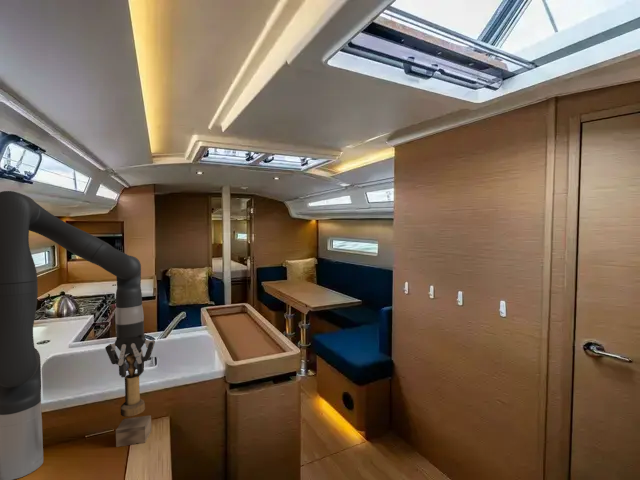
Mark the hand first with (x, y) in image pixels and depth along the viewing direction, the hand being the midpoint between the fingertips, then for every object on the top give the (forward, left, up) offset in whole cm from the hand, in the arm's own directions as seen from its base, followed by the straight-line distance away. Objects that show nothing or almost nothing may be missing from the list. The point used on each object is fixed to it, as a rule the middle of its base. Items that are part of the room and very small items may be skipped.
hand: (131, 375), depth 103 cm
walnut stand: (0, 0, -20) cm, 20 cm away
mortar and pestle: (0, 0, -11) cm, 11 cm away
